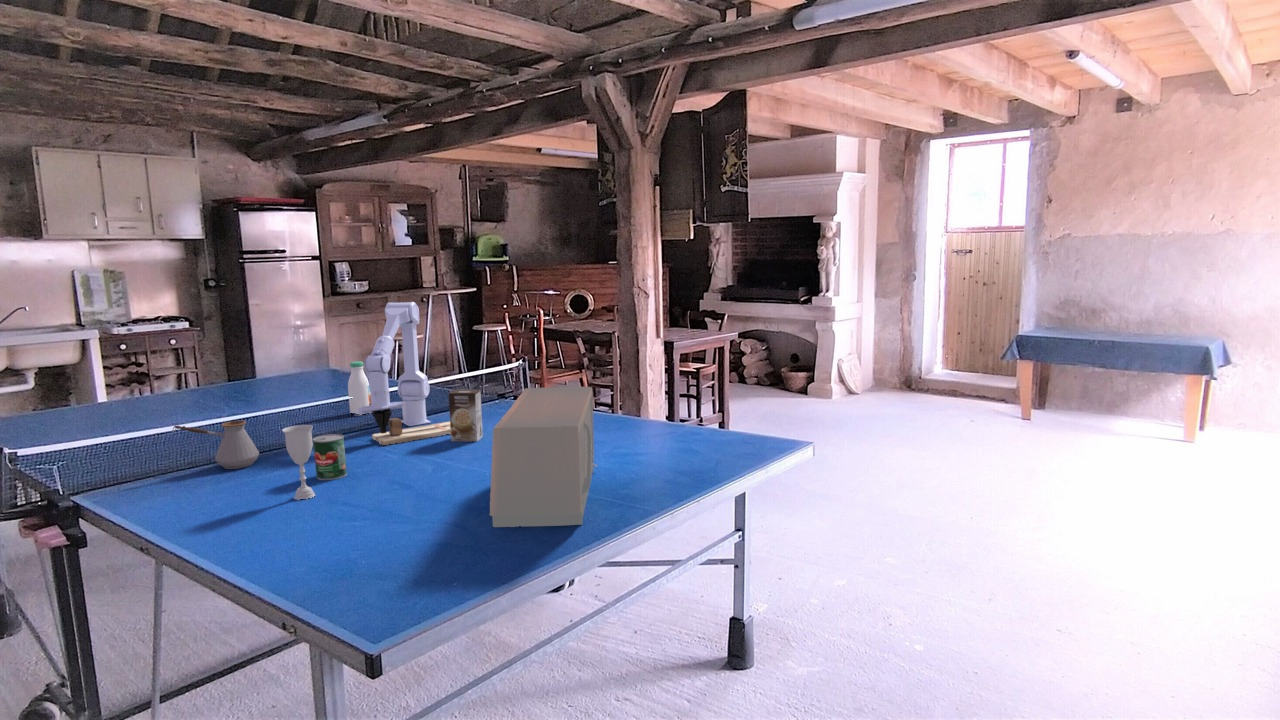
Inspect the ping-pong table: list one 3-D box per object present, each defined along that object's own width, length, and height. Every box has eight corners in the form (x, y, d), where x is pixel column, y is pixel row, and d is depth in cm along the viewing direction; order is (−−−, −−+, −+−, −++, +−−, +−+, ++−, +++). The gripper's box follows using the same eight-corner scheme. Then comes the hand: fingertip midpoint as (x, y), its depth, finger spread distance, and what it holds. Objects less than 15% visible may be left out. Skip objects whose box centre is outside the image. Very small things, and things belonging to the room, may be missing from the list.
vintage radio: (522, 469, 208) (518, 387, 204) (602, 469, 207) (600, 386, 204) (483, 532, 164) (477, 427, 160) (585, 531, 163) (582, 426, 159)
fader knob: (389, 433, 246) (388, 419, 245) (398, 431, 247) (397, 417, 247) (393, 435, 243) (392, 421, 242) (402, 434, 244) (401, 419, 244)
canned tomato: (347, 470, 212) (343, 432, 211) (347, 477, 205) (343, 439, 203) (317, 473, 210) (313, 436, 208) (315, 481, 202) (312, 442, 201)
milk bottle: (367, 415, 281) (362, 363, 278) (347, 416, 281) (342, 364, 278) (374, 411, 289) (370, 360, 286) (355, 411, 289) (350, 360, 286)
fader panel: (372, 438, 247) (372, 434, 246) (453, 424, 263) (452, 420, 263) (383, 446, 237) (383, 441, 237) (466, 431, 253) (466, 426, 253)
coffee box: (450, 441, 240) (446, 393, 238) (456, 436, 246) (453, 389, 244) (477, 441, 239) (474, 392, 237) (483, 436, 245) (481, 388, 243)
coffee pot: (252, 457, 228) (247, 409, 226) (266, 464, 220) (260, 415, 218) (173, 474, 213) (166, 423, 211) (184, 482, 205) (177, 429, 203)
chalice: (299, 503, 185) (292, 433, 183) (283, 498, 189) (276, 429, 186) (325, 494, 192) (319, 426, 189) (309, 490, 195) (302, 423, 192)
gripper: (360, 396, 233) (363, 439, 235) (406, 390, 241) (409, 431, 243) (353, 393, 239) (357, 434, 241) (399, 387, 247) (402, 427, 249)
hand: (383, 432), depth 243 cm, fingers closed
